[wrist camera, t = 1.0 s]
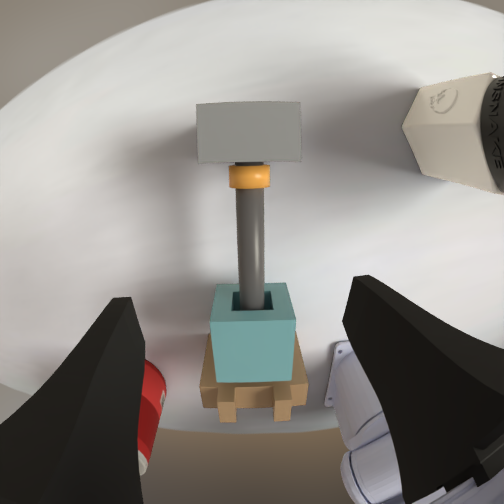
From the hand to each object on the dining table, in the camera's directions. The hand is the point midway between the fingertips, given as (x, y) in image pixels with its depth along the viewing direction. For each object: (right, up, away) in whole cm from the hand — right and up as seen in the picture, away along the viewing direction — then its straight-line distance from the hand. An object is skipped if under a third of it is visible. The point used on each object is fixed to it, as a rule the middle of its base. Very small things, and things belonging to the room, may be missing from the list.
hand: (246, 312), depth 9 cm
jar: (+17, +12, +11) cm, 24 cm away
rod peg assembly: (0, +2, +15) cm, 15 cm away
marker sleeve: (0, -3, +13) cm, 13 cm away
